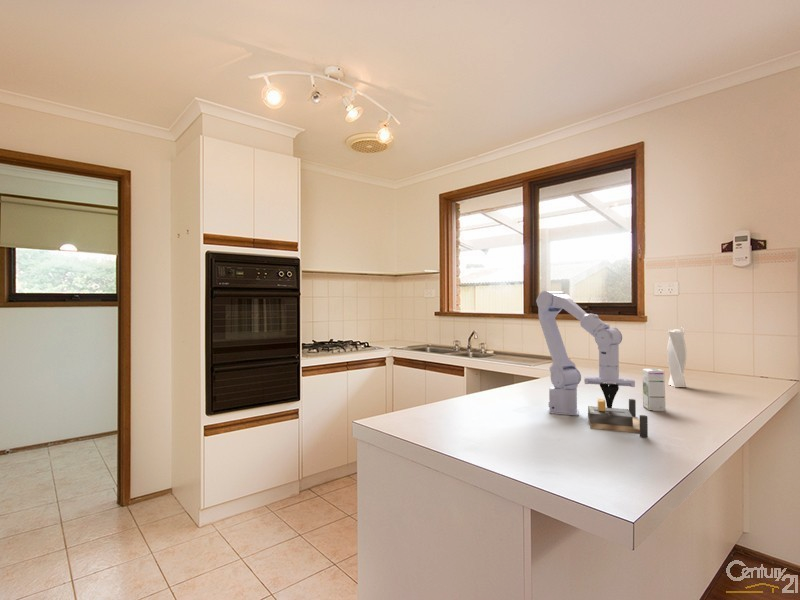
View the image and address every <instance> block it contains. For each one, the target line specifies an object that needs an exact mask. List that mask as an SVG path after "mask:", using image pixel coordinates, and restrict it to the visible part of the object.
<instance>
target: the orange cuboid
mask: <svg viewBox="0 0 800 600" xmlns="http://www.w3.org/2000/svg"><path fill="white" fill-rule="evenodd" d="M597 407H598V410H599V411H606V408H607V407H606V399H605V398H597ZM605 407H606V408H605Z"/></svg>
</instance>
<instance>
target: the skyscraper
mask: <svg viewBox="0 0 800 600" xmlns="http://www.w3.org/2000/svg"><path fill="white" fill-rule="evenodd" d="M667 333H668V335H669V337H668V341H667V348H666V355H667V356H666V358H667V364H668V369H669V373H670V375H669V379H668V383H667V386H668V385H671V386H674V387H673V388H675V387H687V384H686V381H685V376H684V372H685V368H686V363H687V346H686V340H685V337H684V335H685V333H686V331H685V327H684V326H681V327H680V329H668V330H667ZM671 386H670V387H671Z"/></svg>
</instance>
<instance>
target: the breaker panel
mask: <svg viewBox="0 0 800 600" xmlns="http://www.w3.org/2000/svg"><path fill="white" fill-rule="evenodd" d="M587 407H588V408H587V419H588V422H589V427H590V429H595V430H604V431H605V430H606V431H613V432H614V431H617V432H626V433H635V432H636V433H635V434H640V418H639V417H638V416H636V417H632V415H631V413H630V412H629V408H615V407H612V408H607V406H605V408H606V411H599V410H598V406H592V405H591V406H590V405H588V406H587Z"/></svg>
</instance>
